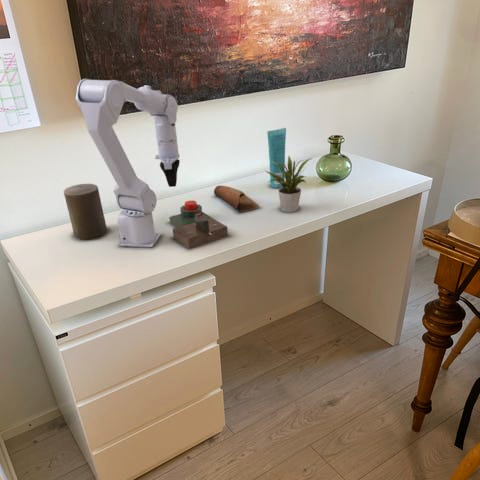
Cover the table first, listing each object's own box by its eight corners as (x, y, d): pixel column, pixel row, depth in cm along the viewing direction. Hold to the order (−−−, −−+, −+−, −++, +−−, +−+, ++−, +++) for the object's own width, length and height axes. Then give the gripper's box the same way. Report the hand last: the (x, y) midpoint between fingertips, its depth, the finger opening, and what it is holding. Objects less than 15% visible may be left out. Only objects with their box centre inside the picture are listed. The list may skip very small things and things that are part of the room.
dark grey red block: (209, 231, 139) (208, 219, 137) (204, 233, 139) (203, 220, 137) (200, 225, 143) (199, 212, 141) (195, 226, 143) (194, 214, 141)
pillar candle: (99, 240, 145) (88, 190, 136) (68, 239, 147) (55, 190, 138) (112, 227, 153) (102, 179, 144) (82, 226, 154) (71, 178, 146)
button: (188, 212, 150) (188, 205, 149) (183, 208, 153) (182, 202, 152) (199, 209, 152) (198, 202, 151) (193, 205, 155) (192, 199, 153)
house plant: (295, 196, 167) (296, 146, 158) (323, 208, 157) (325, 156, 148) (260, 206, 161) (259, 155, 152) (287, 220, 151) (287, 166, 142)
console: (192, 251, 137) (191, 240, 135) (173, 238, 144) (172, 228, 142) (231, 238, 142) (231, 227, 141) (211, 226, 150) (210, 216, 148)
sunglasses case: (261, 206, 160) (251, 191, 155) (245, 221, 160) (234, 206, 155) (235, 190, 173) (225, 175, 169) (220, 203, 173) (210, 189, 169)
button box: (182, 231, 148) (181, 218, 146) (168, 222, 154) (167, 210, 152) (211, 222, 152) (210, 210, 150) (196, 214, 158) (195, 202, 156)
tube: (280, 181, 180) (280, 126, 169) (289, 185, 177) (290, 128, 166) (264, 186, 176) (263, 130, 165) (273, 190, 173) (273, 132, 162)
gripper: (155, 134, 149) (161, 178, 156) (150, 147, 137) (157, 195, 144) (178, 132, 149) (183, 177, 156) (176, 145, 137) (181, 193, 144)
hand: (172, 185), depth 150 cm, fingers closed
